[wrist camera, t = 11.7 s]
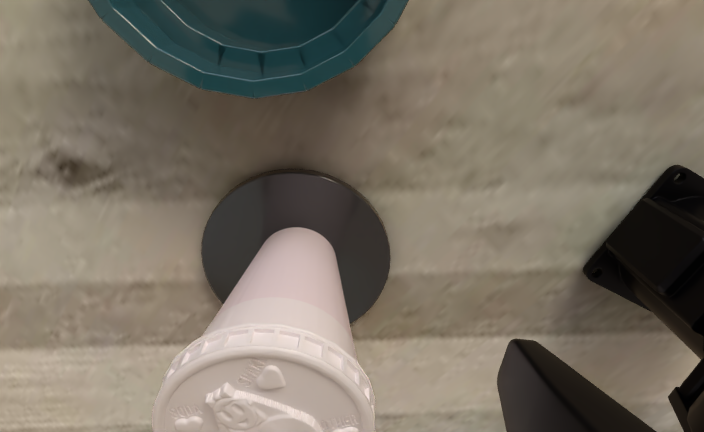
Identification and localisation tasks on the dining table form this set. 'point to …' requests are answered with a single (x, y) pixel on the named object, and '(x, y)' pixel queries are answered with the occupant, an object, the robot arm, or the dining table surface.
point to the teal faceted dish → (252, 39)
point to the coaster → (305, 212)
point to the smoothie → (273, 352)
